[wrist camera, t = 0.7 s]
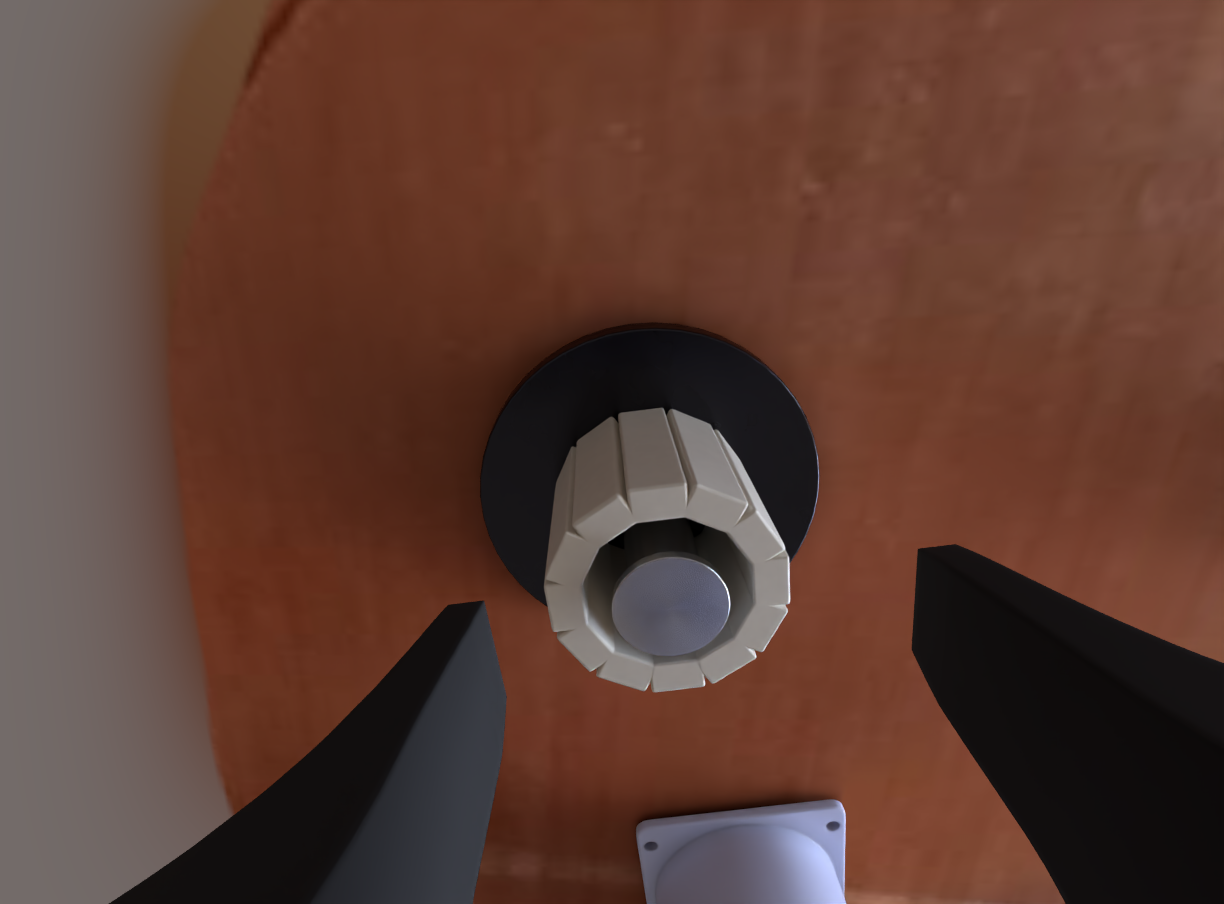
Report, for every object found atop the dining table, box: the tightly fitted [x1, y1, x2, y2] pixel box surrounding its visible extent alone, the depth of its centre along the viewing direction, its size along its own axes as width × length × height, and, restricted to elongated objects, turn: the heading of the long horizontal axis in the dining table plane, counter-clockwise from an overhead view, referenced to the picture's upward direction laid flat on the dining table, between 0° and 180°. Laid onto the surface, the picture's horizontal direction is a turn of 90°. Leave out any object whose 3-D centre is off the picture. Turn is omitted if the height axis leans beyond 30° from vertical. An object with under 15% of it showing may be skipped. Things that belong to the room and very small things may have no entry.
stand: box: [480, 323, 819, 656], centre depth 17 cm, size 10×10×6 cm
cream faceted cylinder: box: [544, 408, 790, 692], centre depth 17 cm, size 6×6×5 cm
